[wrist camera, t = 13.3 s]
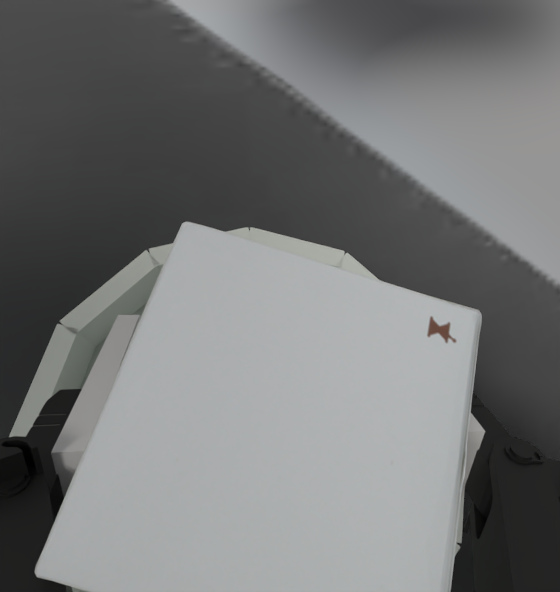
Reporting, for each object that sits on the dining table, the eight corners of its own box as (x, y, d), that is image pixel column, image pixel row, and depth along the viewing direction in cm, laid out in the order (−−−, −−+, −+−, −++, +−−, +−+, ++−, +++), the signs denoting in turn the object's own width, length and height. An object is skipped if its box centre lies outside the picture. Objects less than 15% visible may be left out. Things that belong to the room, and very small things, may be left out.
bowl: (-23, 612, 19) (-85, 654, 15) (129, 228, 26) (113, 191, 22) (406, 701, 19) (450, 763, 16) (439, 307, 26) (475, 284, 23)
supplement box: (207, 338, 21) (183, 203, 9) (345, 383, 21) (498, 306, 9) (148, 493, 18) (12, 580, 7) (308, 543, 18) (453, 719, 7)
